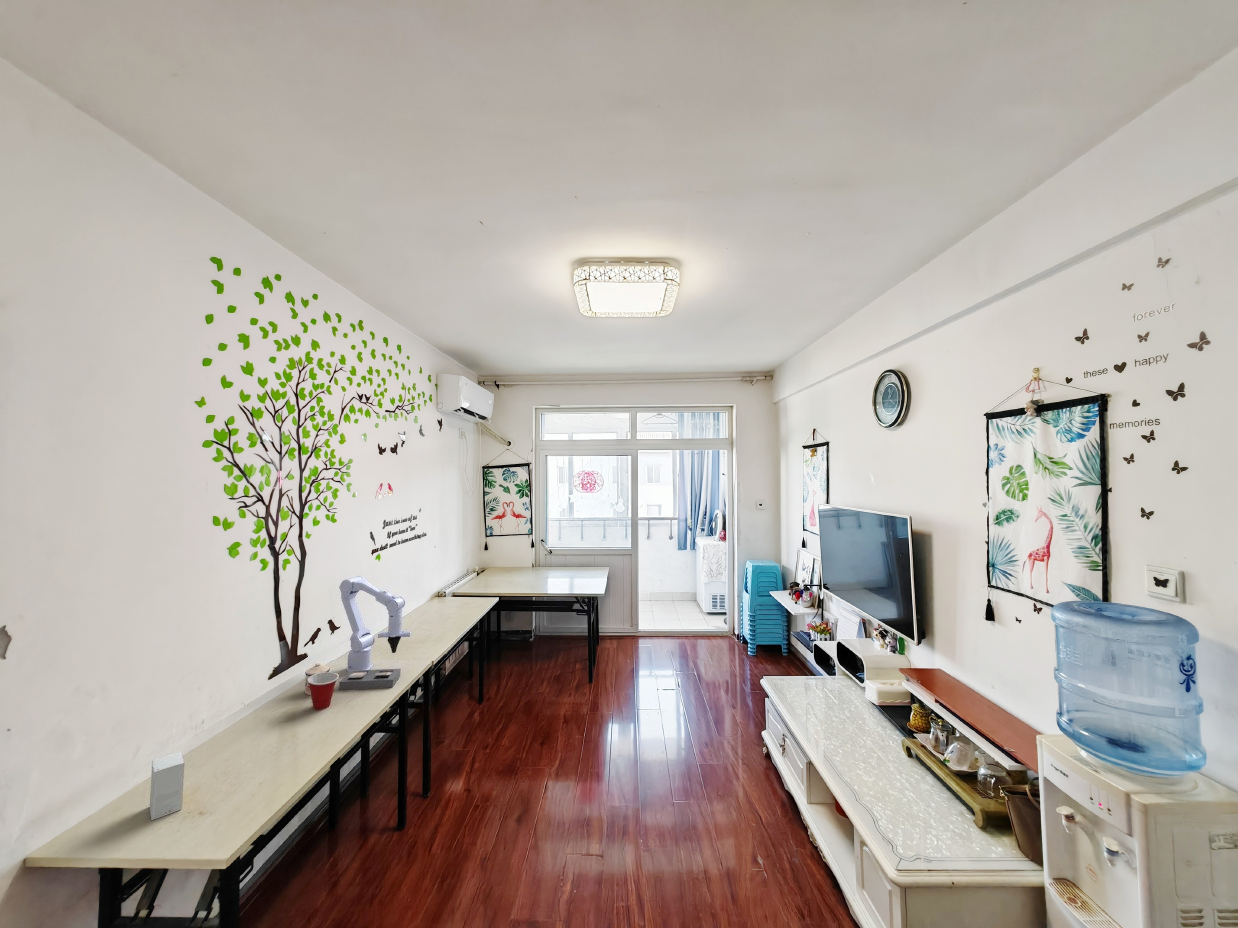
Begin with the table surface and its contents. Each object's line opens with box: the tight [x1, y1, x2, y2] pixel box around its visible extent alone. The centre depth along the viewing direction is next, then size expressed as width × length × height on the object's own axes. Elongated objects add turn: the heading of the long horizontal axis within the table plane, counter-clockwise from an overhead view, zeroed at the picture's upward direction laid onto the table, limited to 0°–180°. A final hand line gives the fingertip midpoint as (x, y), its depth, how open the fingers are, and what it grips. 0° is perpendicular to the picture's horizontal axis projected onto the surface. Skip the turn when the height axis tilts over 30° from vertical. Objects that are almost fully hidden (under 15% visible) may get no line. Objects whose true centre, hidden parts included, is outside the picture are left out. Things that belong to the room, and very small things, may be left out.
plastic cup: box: [308, 671, 340, 711], centre depth 193 cm, size 11×11×12 cm
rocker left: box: [349, 672, 367, 678], centre depth 215 cm, size 5×8×1 cm, turn 10°
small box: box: [149, 751, 185, 821], centre depth 134 cm, size 8×6×13 cm
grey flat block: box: [338, 668, 402, 691], centre depth 215 cm, size 22×12×4 cm, turn 100°
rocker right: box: [375, 672, 392, 675], centre depth 216 cm, size 5×8×1 cm, turn 10°
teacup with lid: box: [304, 662, 331, 696], centre depth 207 cm, size 12×9×12 cm
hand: (394, 652), depth 228 cm, fingers closed
